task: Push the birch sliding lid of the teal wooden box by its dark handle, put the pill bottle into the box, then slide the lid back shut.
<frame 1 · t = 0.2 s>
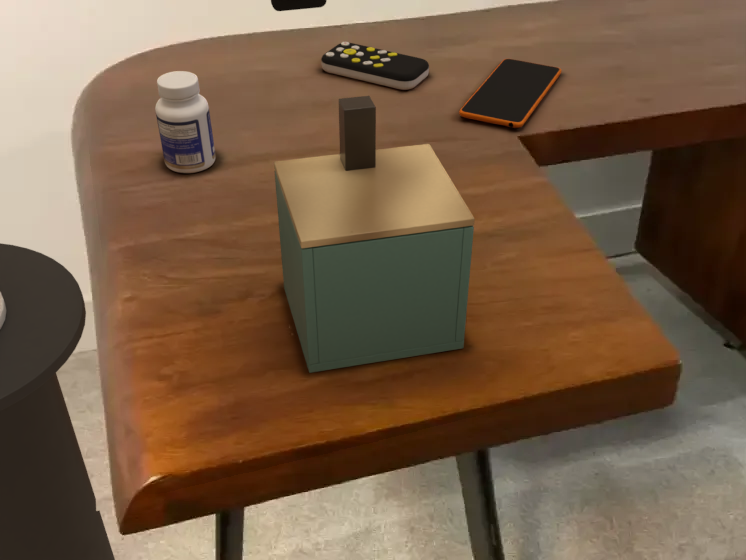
slide lid: (369, 162, 67), point 14 cm above the table, slide at 0.0 cm
box: (370, 316, 76), on the table
smartphone: (511, 96, 107), on the table
remote control: (374, 74, 112), on the table
pill bottle: (190, 163, 95), on the table
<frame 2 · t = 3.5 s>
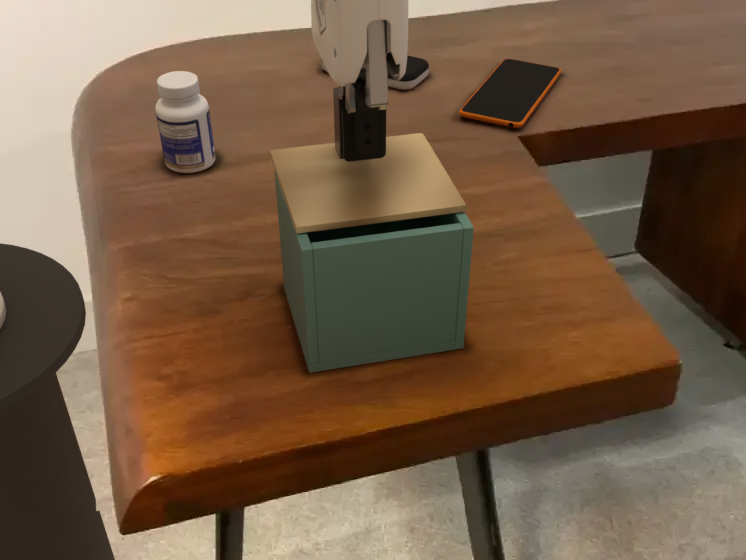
hand: (362, 154, 69), 13 cm above the table, tool pointing down, fingers closed
slide lid: (363, 150, 68), point 14 cm above the table, slide at 1.9 cm, touching gripper
everything else where it was.
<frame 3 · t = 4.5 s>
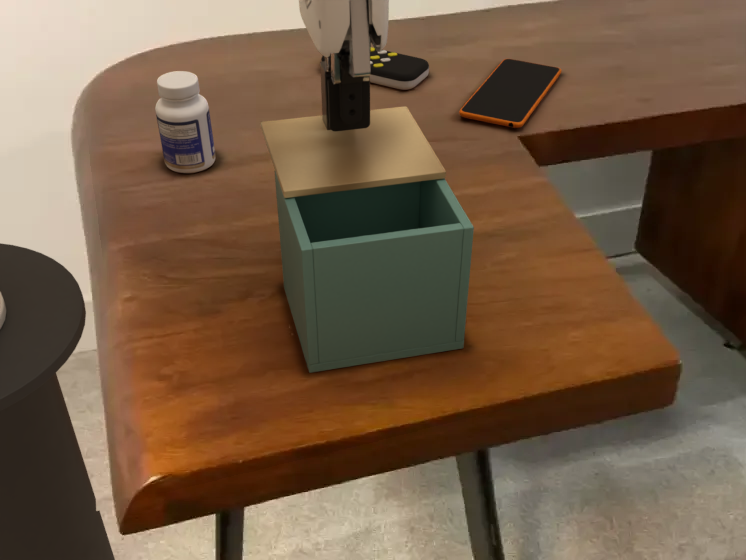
hand: (348, 124, 72), 13 cm above the table, tool pointing down, fingers closed
slide lid: (349, 120, 72), point 14 cm above the table, slide at 6.9 cm, touching gripper
everything else where it was.
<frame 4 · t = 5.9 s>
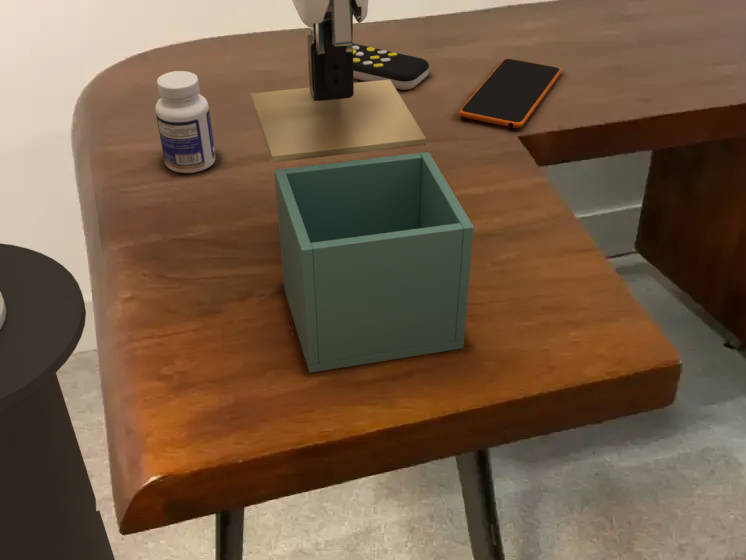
hand: (333, 94, 76), 13 cm above the table, tool pointing down, fingers closed
slide lid: (334, 90, 75), point 14 cm above the table, slide at 12.5 cm, touching gripper
everything else where it was.
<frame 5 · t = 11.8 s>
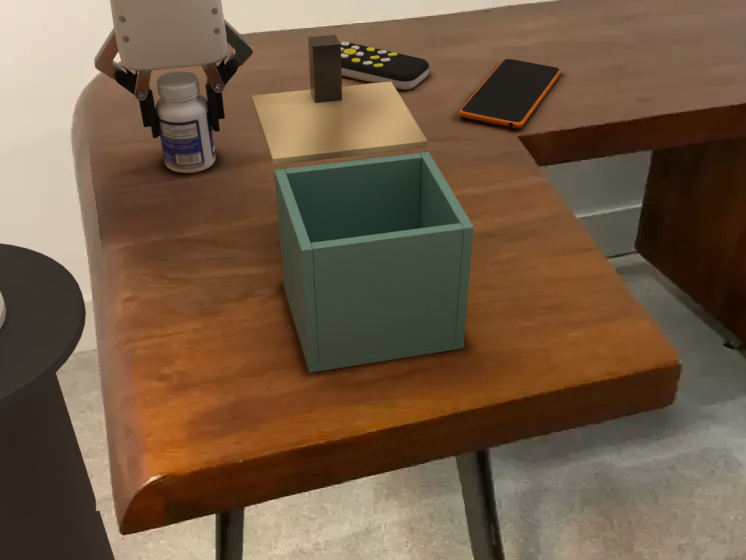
hand: (185, 127, 93), 4 cm above the table, tool pointing down, fingers closed on pill bottle, 5 cm apart
slide lid: (335, 92, 75), point 14 cm above the table, slide at 12.0 cm
pill bottle: (190, 163, 95), on the table, touching gripper
everything else where it was.
when the fingers open (8 cm above the table, at t = 20.3 s): pill bottle stays where it is, resting on box.
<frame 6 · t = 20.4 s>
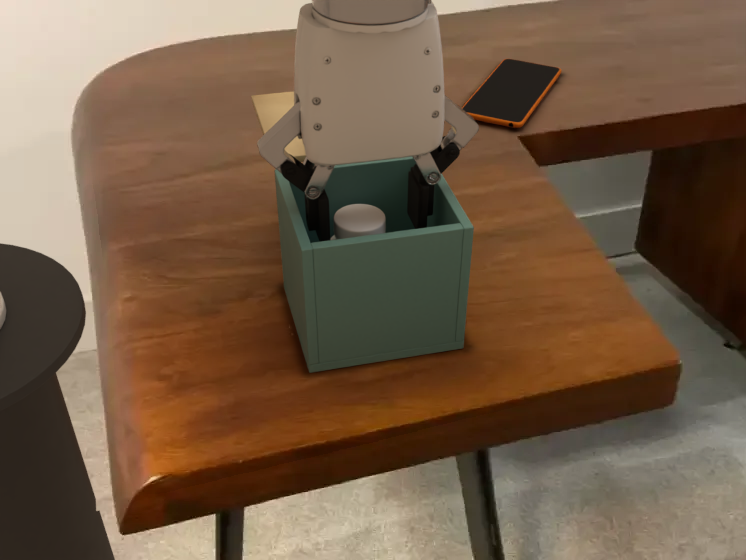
hand: (369, 227, 70), 9 cm above the table, tool pointing down, fingers open, 6 cm apart
pill bottle: (360, 311, 76), point 1 cm above the table, touching box
everything else where it was.
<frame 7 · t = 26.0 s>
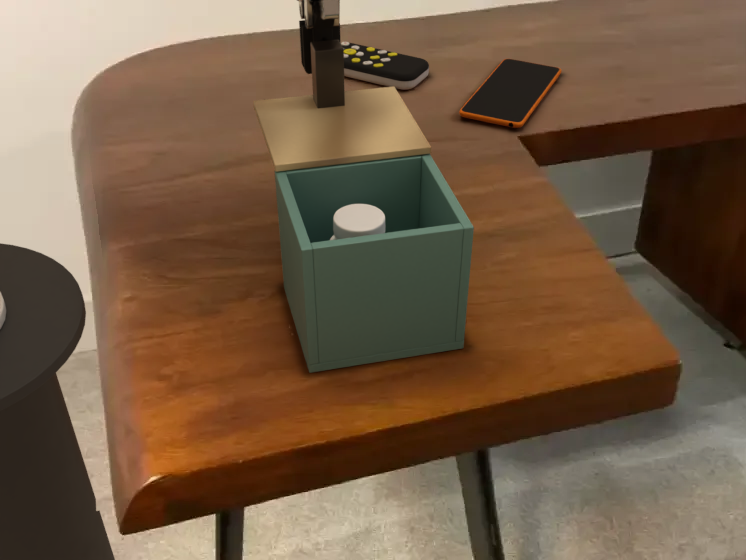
hand: (321, 68, 80), 14 cm above the table, tool pointing down, fingers closed
slide lid: (338, 97, 74), point 14 cm above the table, slide at 11.0 cm, touching gripper
everything else where it was.
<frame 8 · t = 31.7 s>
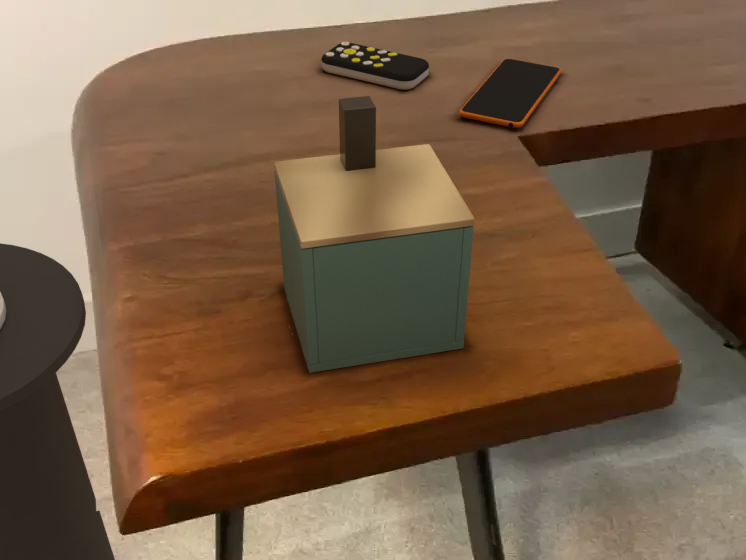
slide lid: (370, 162, 67), point 14 cm above the table, slide at 0.0 cm
everything else where it was.
at the end: slide lid pulled out 12.5 cm at the most during the clip, back to where it started at the end; pill bottle inside the target area on the box (0.8 cm from its centre), point 0.6 cm above the box's base; slide lid slide at 0.0 cm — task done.
